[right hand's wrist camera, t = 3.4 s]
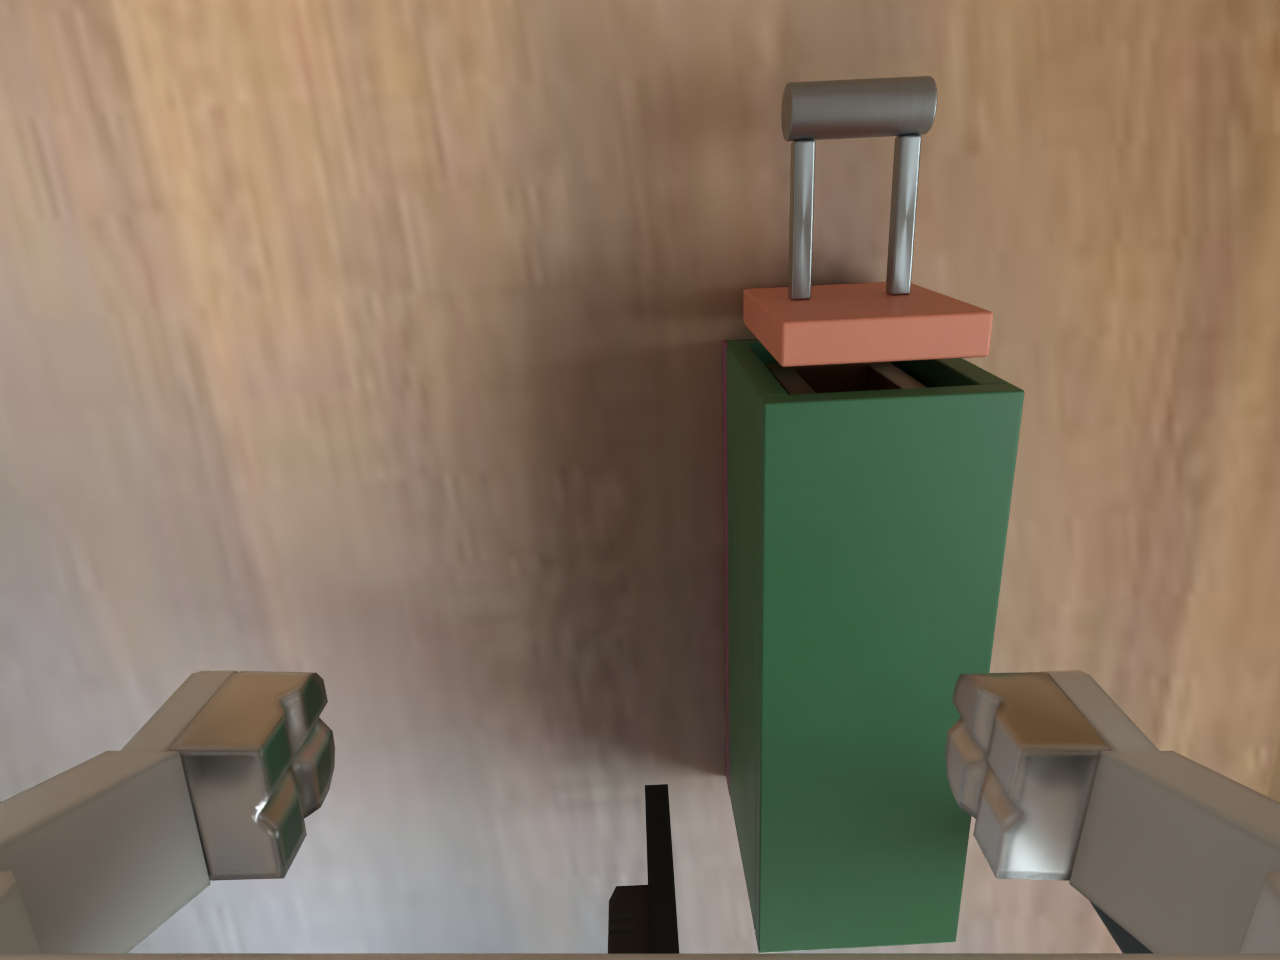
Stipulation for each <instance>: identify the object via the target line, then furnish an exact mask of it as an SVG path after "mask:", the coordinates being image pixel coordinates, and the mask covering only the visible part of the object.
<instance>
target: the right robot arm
mask: <svg viewBox="0 0 1280 960" xmlns="http://www.w3.org/2000/svg"><path fill="white" fill-rule="evenodd" d="M327 702H328V700H327V695H326V690H325V685H324V680H323V679H322V678H321V677H320V676H319V675H318V674H317V673H310V672H261V671H240V672H237V671H201V672H197V673H193V674H191V675H190V676H189V677H188V678H187V679H186V681H185V682H184V683H183V684H182V685H181V686H180V687H179V688H178V689H177V690H176V691H175V692H174V694H173V695H172V696H171V697H170V698H169V699H168V700H167V701H166V702H165V703H164V704H163V705H162V706H161V708H160V709H159V710H158V711H157V712H156V713H155V714H154V715H153V716H152V717H151V718H150V719H149V721H148V722H147V723H146V724H145V725H144V726H143V727H142V728H141V729H140V730H139V731H138V732H137V733H136V735H135V736H134V737H133V738H132V739H131V740H130V741H129V742H128V743H127V744H126V745H125V746H124V748H123V749H122V750H121V751H106V752H104V753H102V754H100V755H98V756H96V757H94V758H92V759H90V760H88V761H86V762H84V763H81V764H79V765H77V766H75V767H73V768H71V769H69V770H67V771H65V772H63V773H61V774H59V775H57V776H55V777H52V778H50V779H48V780H46V781H44V782H42V783H40V784H38V785H36V786H34V787H32V788H30V789H28V790H26V791H23V792H21V793H19V794H17V795H15V796H13V797H11V798H9V799H7V800H5V801H3V802H1V803H0V960H1280V803H1279V802H1277V801H1275V800H1273V799H1271V798H1269V797H1267V796H1265V795H1262V794H1260V793H1258V792H1256V791H1254V790H1252V789H1250V788H1248V787H1246V786H1244V785H1242V784H1240V783H1238V782H1236V781H1234V780H1232V779H1229V778H1227V777H1225V776H1223V775H1221V774H1219V773H1217V772H1215V771H1213V770H1211V769H1209V768H1207V767H1205V766H1203V765H1201V764H1199V763H1196V762H1194V761H1192V760H1190V759H1188V758H1186V757H1184V756H1182V755H1180V754H1178V753H1176V752H1174V751H1159V750H1158V749H1157V748H1156V746H1155V745H1154V744H1153V743H1152V742H1151V741H1150V740H1149V739H1148V738H1147V737H1146V736H1145V735H1144V733H1143V732H1142V731H1141V730H1140V729H1139V728H1138V727H1137V726H1136V725H1135V724H1134V723H1133V722H1132V720H1131V719H1130V718H1129V717H1128V716H1127V715H1126V714H1125V713H1124V712H1123V711H1122V710H1121V709H1120V707H1119V706H1118V705H1117V704H1116V703H1115V702H1114V701H1113V700H1112V699H1111V698H1110V697H1109V696H1108V695H1107V693H1106V692H1105V691H1104V690H1103V689H1102V688H1101V687H1100V686H1099V685H1098V684H1097V683H1096V682H1095V680H1094V679H1093V678H1092V677H1091V676H1090V675H1088V674H1086V673H1084V672H1082V671H1079V670H1073V671H1045V672H1027V673H978V674H960V676H959V678H958V680H957V682H956V684H955V689H954V694H953V700H952V702H953V704H954V705H955V707H956V709H957V711H958V712H959V714H960V716H961V718H960V719H959V720H958V721H957V722H956V723H955V724H954V725H953V726H952V727H951V728H950V729H949V730H948V732H947V740H946V748H945V760H946V770H947V777H948V781H949V784H950V787H951V791H952V793H953V795H954V797H955V799H956V801H957V803H958V805H959V807H960V808H961V809H963V810H964V811H966V812H967V813H968V814H970V815H971V816H973V817H974V818H976V822H975V828H974V834H973V835H974V837H975V839H976V841H977V843H978V844H979V846H980V848H981V850H982V852H983V854H984V856H985V858H986V860H987V862H988V864H989V865H990V867H991V869H992V871H993V873H994V875H995V877H996V878H1003V879H1038V880H1070V885H1072V886H1073V887H1074V888H1075V889H1076V890H1078V891H1079V892H1080V893H1081V894H1082V895H1084V896H1085V897H1086V898H1087V899H1089V900H1090V901H1091V902H1092V903H1093V904H1095V905H1096V906H1097V907H1098V908H1099V909H1101V910H1102V911H1103V912H1104V913H1106V914H1107V915H1108V916H1109V917H1110V918H1112V919H1113V920H1114V921H1115V922H1116V923H1118V924H1119V925H1120V926H1121V927H1122V928H1124V929H1125V930H1126V931H1127V932H1129V933H1130V934H1131V935H1132V936H1133V937H1135V938H1136V939H1137V940H1138V941H1139V942H1141V943H1142V944H1143V945H1144V946H1146V947H1147V948H1148V949H1149V950H1150V951H1152V952H1153V953H1154V954H127V952H129V951H130V950H131V949H132V948H134V947H135V946H136V945H137V944H138V943H140V942H141V941H142V940H143V939H144V938H146V937H147V936H148V935H149V934H151V933H152V932H153V931H154V930H155V929H157V928H158V927H159V926H160V925H161V924H163V923H164V922H165V921H166V920H168V919H169V918H170V917H171V916H172V915H174V914H175V913H176V912H177V911H178V910H180V909H181V908H182V907H183V906H185V905H186V904H187V903H188V902H189V901H191V900H192V899H193V898H194V897H195V896H197V895H198V894H199V893H200V892H202V891H203V890H204V889H205V888H206V887H208V886H209V885H210V880H241V879H275V878H284V877H285V875H286V873H287V871H288V869H289V868H290V866H291V864H292V862H293V860H294V858H295V856H296V854H297V852H298V850H299V848H300V846H301V844H302V843H303V841H304V839H305V837H306V835H307V834H306V828H305V822H304V818H306V817H307V816H309V815H310V814H312V813H313V812H314V811H316V810H317V809H319V808H320V807H321V805H322V803H323V801H324V799H325V797H326V795H327V793H328V791H329V788H330V784H331V779H332V775H333V771H334V764H335V746H334V739H333V732H332V730H331V729H330V728H329V727H328V726H327V725H326V724H325V723H324V722H323V721H322V720H321V719H320V718H319V716H320V714H321V712H322V711H323V709H324V707H325V706H326V704H327Z"/></svg>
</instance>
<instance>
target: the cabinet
mask: <svg viewBox="0 0 1280 960" xmlns="http://www.w3.org/2000/svg"><path fill="white" fill-rule="evenodd" d="M722 361H723V469H724V577H725V686H726V778H727V784H728V789H729V795H730V798H731V803H732V809H733V814H734V820H735V825H736V830H737V836H738V841H739V847H740V852H741V858H742V863H743V869H744V874H745V880H746V885H747V890H748V896H749V901H750V907H751V912H752V918H753V923H754V929H755V934H756V940H757V945H758V951H759V953H770V952H788V951H805V950H823V949H840V948H858V947H876V946H893V945H911V944H928V943H946V942H955V941H956V934H957V926H958V918H959V910H960V902H961V894H962V886H963V878H964V870H965V862H966V854H967V846H968V838H969V830H970V822H971V815H970V814H968V813H967V812H966V811H964V810H963V809H961V808H960V807H959V805H958V803H957V801H956V799H955V797H954V795H953V793H952V791H951V787H950V784H949V781H948V777H947V770H946V760H945V748H946V740H947V732H948V730H949V729H950V728H951V727H952V726H953V725H954V724H955V723H956V722H957V721H958V720H959V719H960V718H961V716H960V714H959V712H958V711H957V709H956V707H955V705H954V704H953V702H952V700H953V694H954V689H955V684H956V682H957V680H958V678H959V676H960V674H978V673H989V671H990V663H991V655H992V647H993V639H994V631H995V623H996V615H997V607H998V599H999V591H1000V583H1001V575H1002V567H1003V559H1004V551H1005V543H1006V535H1007V527H1008V519H1009V511H1010V503H1011V495H1012V487H1013V479H1014V471H1015V463H1016V455H1017V447H1018V439H1019V431H1020V423H1021V415H1022V407H1023V399H1024V390H1022V389H1020V388H1018V387H1016V386H1014V385H1012V384H1010V383H1008V382H1006V381H1004V380H1002V379H1001V378H999V377H997V376H995V375H993V374H991V373H989V372H987V371H985V370H983V369H981V368H979V367H977V366H976V365H974V364H972V363H970V362H968V361H966V360H964V359H962V358H949V359H929V360H909V361H889V362H890V363H892V364H893V365H895V366H896V367H898V368H899V369H901V370H902V371H903V372H905V373H906V374H908V375H909V376H911V377H912V378H914V379H915V380H917V381H918V382H920V383H921V384H923V385H924V386H926V387H927V388H911V389H891V390H871V391H851V392H832V393H812V394H792V395H788V393H787V392H786V391H785V390H784V388H783V387H782V386H781V385H780V383H779V382H778V381H777V380H776V378H775V377H774V376H773V374H772V373H771V372H770V371H769V369H768V368H767V367H766V364H770V363H778V362H777V360H776V359H775V358H774V357H773V356H772V355H771V354H770V352H769V351H768V350H767V349H766V348H765V347H764V346H763V345H762V343H761V342H760V341H759V340H758V339H747V340H727V341H726V340H722Z"/></svg>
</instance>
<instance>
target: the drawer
mask: <svg viewBox="0 0 1280 960" xmlns="http://www.w3.org/2000/svg"><path fill="white" fill-rule="evenodd" d="M936 107H937V88H936V83H935V81H934V79H933V78H932V77H931V76H919V77H898V78H877V79H855V80H834V81H813V82H792V83H787V84H786V86H785V89H784V93H783V99H782V113H781V120H782V132H783V136H784V139H785V140H786V141H793V142H792V143H791V172H790V225H789V277H788V287H774V288H753V289H745V290H744V292H743V322H744V324H745V325H746V326H747V327H748V329H749V330H750V331H751V332H752V333H753V334H754V335H755V337H756V338H757V339H758V340H759V341H760V342H761V343H762V345H763V346H764V347H765V348H766V349H767V350H768V351H769V352H770V354H771V355H772V356H773V357H774V358H775V359H776V360H777V362H778V363H770V364H766V367H767V368H768V369H769V371H770V372H771V373H772V374H773V376H774V377H775V378H776V380H777V381H778V382H779V383H780V385H781V386H782V387H783V388H784V390H785V391H786V392H787V393H788V395H792V394H812V393H832V392H851V391H871V390H891V389H911V388H927V387H926V386H924V385H923V384H921V383H920V382H918V381H917V380H915V379H914V378H912V377H911V376H909V375H908V374H906V373H905V372H903V371H902V370H901V369H899V368H898V367H896V366H895V365H893V364H892V363H890V362H889V361H909V360H929V359H949V358H969V357H985V356H988V354H989V348H990V339H991V330H992V320H993V313H992V312H990V311H988V310H985V309H982V308H979V307H976V306H974V305H971V304H968V303H965V302H962V301H960V300H957V299H954V298H951V297H948V296H945V295H943V294H940V293H937V292H934V291H931V290H929V289H926V288H923V287H920V286H917V285H915V284H912V283H911V274H912V260H913V246H914V232H915V218H916V204H917V190H918V176H919V162H920V148H921V135H924V134H926V133H928V132H929V130H930V129H931V127H932V124H933V121H934V118H935V114H936ZM886 136H897V137H896V138H895V147H894V163H893V180H892V196H891V213H890V229H889V246H888V262H887V279H886V282H875V283H855V284H834V285H814V286H811V279H812V245H813V210H814V175H815V140H823V139H844V138H865V137H886Z"/></svg>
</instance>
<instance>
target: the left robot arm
mask: <svg viewBox="0 0 1280 960" xmlns="http://www.w3.org/2000/svg"><path fill="white" fill-rule="evenodd" d="M645 800H646V832H647V864H648V885H635V886H616V888H615V890H614V892H613V894H612V896H611V898H610V900H609V927H608V931H609V933H608V954H679V944H678V929H677V914H676V900H675V885H674V870H673V856H672V841H671V826H670V812H669V797H668V784H665V785H645ZM1089 901H1090V900H1089ZM1090 902H1091V901H1090ZM1091 904H1092V905H1093V907H1094V909H1095V910H1096V912H1097V913H1098V915H1099V916H1100V918H1101V920H1102V921H1103V923H1104V924H1105V926H1106V927H1107V929H1108V931H1109V932H1110V934H1111V935H1112V937H1113V939H1114V940H1115V942H1116V943H1117V945H1118V946H1119V948H1120V950H1121V951H1122V953H1123V954H1154V953H1153V952H1152V951H1150V950H1149V949H1148V948H1147V947H1146V946H1144V945H1143V944H1142V943H1141V942H1139V941H1138V940H1137V939H1136V938H1135V937H1133V936H1132V935H1131V934H1130V933H1129V932H1127V931H1126V930H1125V929H1124V928H1122V927H1121V926H1120V925H1119V924H1118V923H1116V922H1115V921H1114V920H1113V919H1112V918H1110V917H1109V916H1108V915H1107V914H1106V913H1104V912H1103V911H1102V910H1101V909H1099V908H1098V907H1097V906H1096V905H1095V904H1093V903H1092V902H1091Z"/></svg>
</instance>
